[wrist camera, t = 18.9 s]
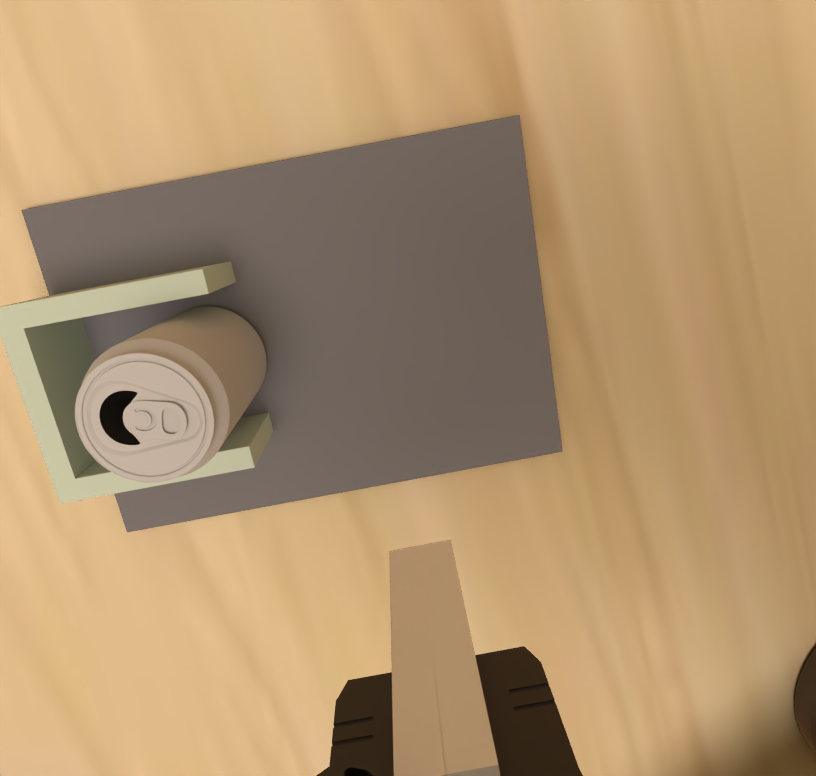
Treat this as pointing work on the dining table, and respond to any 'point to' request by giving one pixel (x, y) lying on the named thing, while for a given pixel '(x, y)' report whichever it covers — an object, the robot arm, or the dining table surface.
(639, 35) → the dining table surface
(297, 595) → the dining table surface
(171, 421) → the beverage can
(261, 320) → the mount
